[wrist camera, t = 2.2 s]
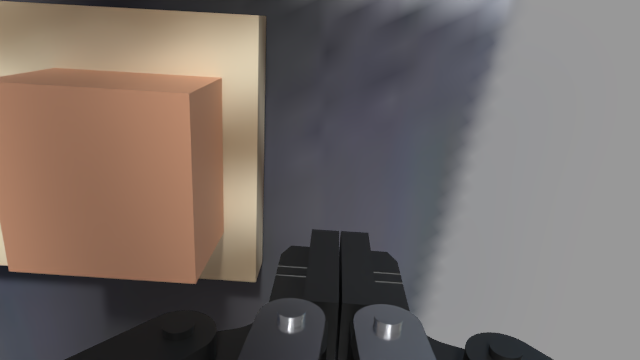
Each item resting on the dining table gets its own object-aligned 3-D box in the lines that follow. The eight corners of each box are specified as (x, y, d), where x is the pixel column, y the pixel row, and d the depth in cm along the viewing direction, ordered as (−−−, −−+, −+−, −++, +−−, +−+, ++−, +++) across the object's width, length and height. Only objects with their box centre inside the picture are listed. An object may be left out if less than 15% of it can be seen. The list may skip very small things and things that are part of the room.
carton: (53, 67, 20) (-25, 80, 15) (221, 77, 20) (188, 93, 15) (73, 222, 22) (8, 271, 18) (223, 232, 22) (195, 284, 17)
